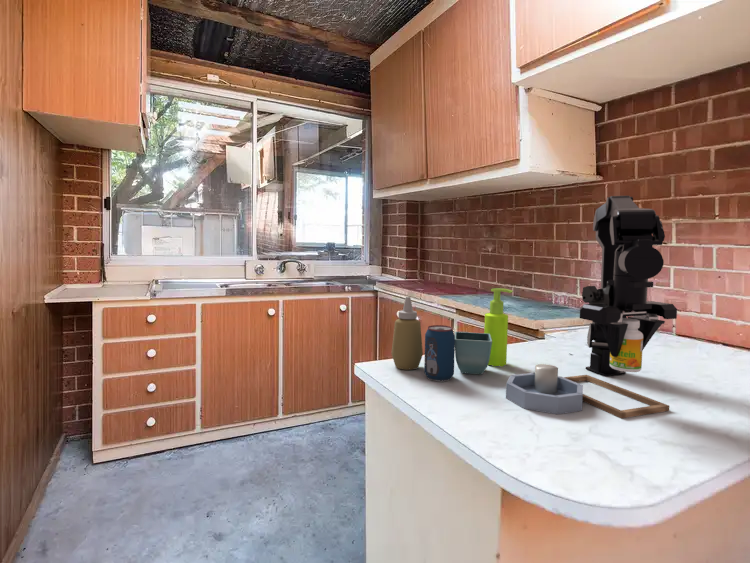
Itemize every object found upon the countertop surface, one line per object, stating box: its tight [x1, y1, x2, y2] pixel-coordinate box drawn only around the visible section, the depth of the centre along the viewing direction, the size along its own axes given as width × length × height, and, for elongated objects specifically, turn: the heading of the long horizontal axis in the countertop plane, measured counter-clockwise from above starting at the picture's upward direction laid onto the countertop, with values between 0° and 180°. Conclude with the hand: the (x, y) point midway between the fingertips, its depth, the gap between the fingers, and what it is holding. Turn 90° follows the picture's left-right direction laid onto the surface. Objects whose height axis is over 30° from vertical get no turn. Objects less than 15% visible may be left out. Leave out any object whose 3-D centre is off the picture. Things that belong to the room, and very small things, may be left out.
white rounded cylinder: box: [534, 363, 559, 394], centre depth 88 cm, size 4×4×5 cm
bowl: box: [505, 372, 584, 415], centre depth 85 cm, size 14×14×3 cm
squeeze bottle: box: [391, 296, 424, 371], centre depth 106 cm, size 8×8×18 cm
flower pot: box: [454, 331, 492, 375], centre depth 104 cm, size 9×9×9 cm
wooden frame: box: [563, 374, 670, 419], centre depth 88 cm, size 12×20×1 cm, turn 18°
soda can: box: [423, 324, 455, 382], centre depth 99 cm, size 7×7×12 cm
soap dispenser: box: [483, 287, 514, 367], centre depth 110 cm, size 6×7×20 cm
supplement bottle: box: [610, 317, 644, 373], centre depth 82 cm, size 5×5×10 cm
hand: (625, 355), depth 82 cm, fingers closed on supplement bottle, 5 cm apart
